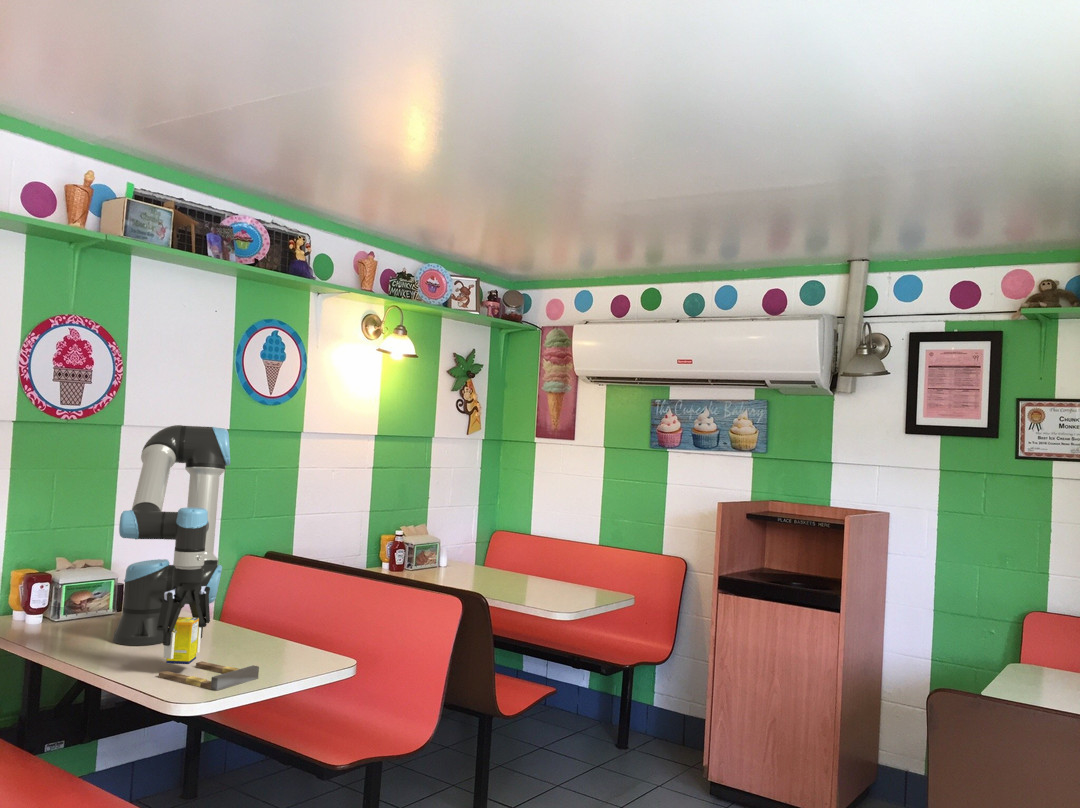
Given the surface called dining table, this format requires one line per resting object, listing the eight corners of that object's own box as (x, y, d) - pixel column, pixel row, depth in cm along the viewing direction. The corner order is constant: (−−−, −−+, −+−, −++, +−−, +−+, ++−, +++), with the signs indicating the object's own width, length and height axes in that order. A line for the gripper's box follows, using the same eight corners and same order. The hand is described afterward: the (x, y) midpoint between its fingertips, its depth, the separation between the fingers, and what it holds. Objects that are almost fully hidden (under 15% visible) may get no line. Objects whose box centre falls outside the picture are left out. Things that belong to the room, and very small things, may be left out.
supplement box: (173, 658, 226) (176, 616, 227) (196, 659, 226) (199, 617, 227) (165, 663, 220) (168, 620, 221) (189, 664, 220) (192, 621, 221)
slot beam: (158, 677, 217) (159, 665, 217) (201, 665, 230) (202, 654, 230) (216, 690, 208) (217, 678, 209) (258, 678, 221) (259, 666, 221)
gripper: (166, 572, 214) (158, 664, 212) (229, 564, 232) (222, 649, 231) (145, 569, 217) (137, 660, 216) (208, 561, 235) (202, 645, 234)
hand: (181, 654), depth 223 cm, fingers closed on supplement box, 8 cm apart
